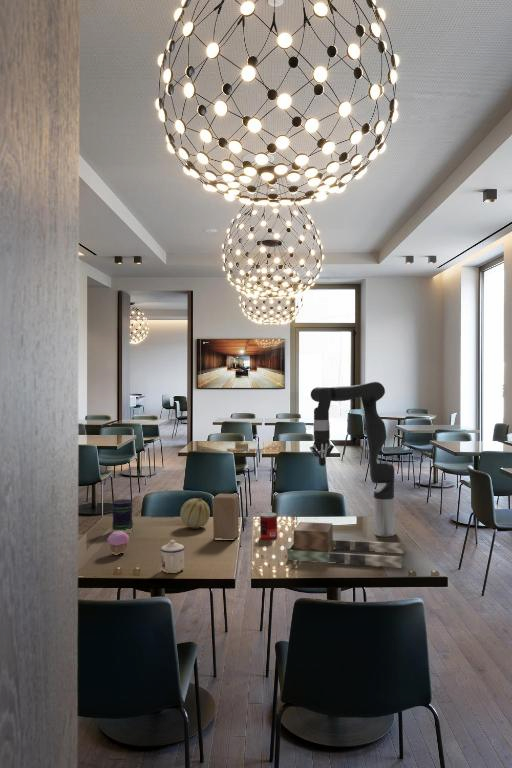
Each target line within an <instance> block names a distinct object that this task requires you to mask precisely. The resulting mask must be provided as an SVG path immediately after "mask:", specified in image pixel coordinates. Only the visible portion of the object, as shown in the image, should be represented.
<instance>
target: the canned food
mask: <svg viewBox="0 0 512 768" xmlns="http://www.w3.org/2000/svg"><path fill="white" fill-rule="evenodd" d="M277 516H278V514H277V513H276V512H263V513H262V512H261V513H260V515H259V523H260V524H259V526H260V528H259V530H260V531H259V532H260V540H261V539H262V540H264V541H273V540H275V539H277V537H278V517H277Z"/></svg>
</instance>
